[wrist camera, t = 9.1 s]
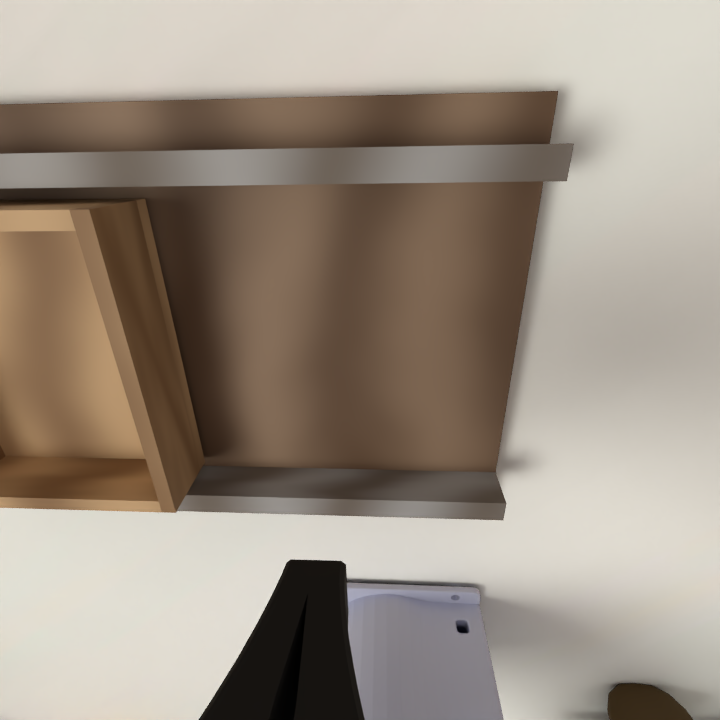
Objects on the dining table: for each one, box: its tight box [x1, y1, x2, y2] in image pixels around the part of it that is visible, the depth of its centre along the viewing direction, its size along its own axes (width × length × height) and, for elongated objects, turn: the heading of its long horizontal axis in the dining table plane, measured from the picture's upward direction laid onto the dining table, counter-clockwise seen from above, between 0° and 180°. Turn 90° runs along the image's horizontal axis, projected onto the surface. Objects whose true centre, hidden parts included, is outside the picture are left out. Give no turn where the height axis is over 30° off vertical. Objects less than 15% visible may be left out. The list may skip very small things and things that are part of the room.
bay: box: [0, 91, 574, 520], centre depth 16 cm, size 26×18×6 cm
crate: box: [0, 198, 205, 513], centre depth 17 cm, size 10×12×3 cm
